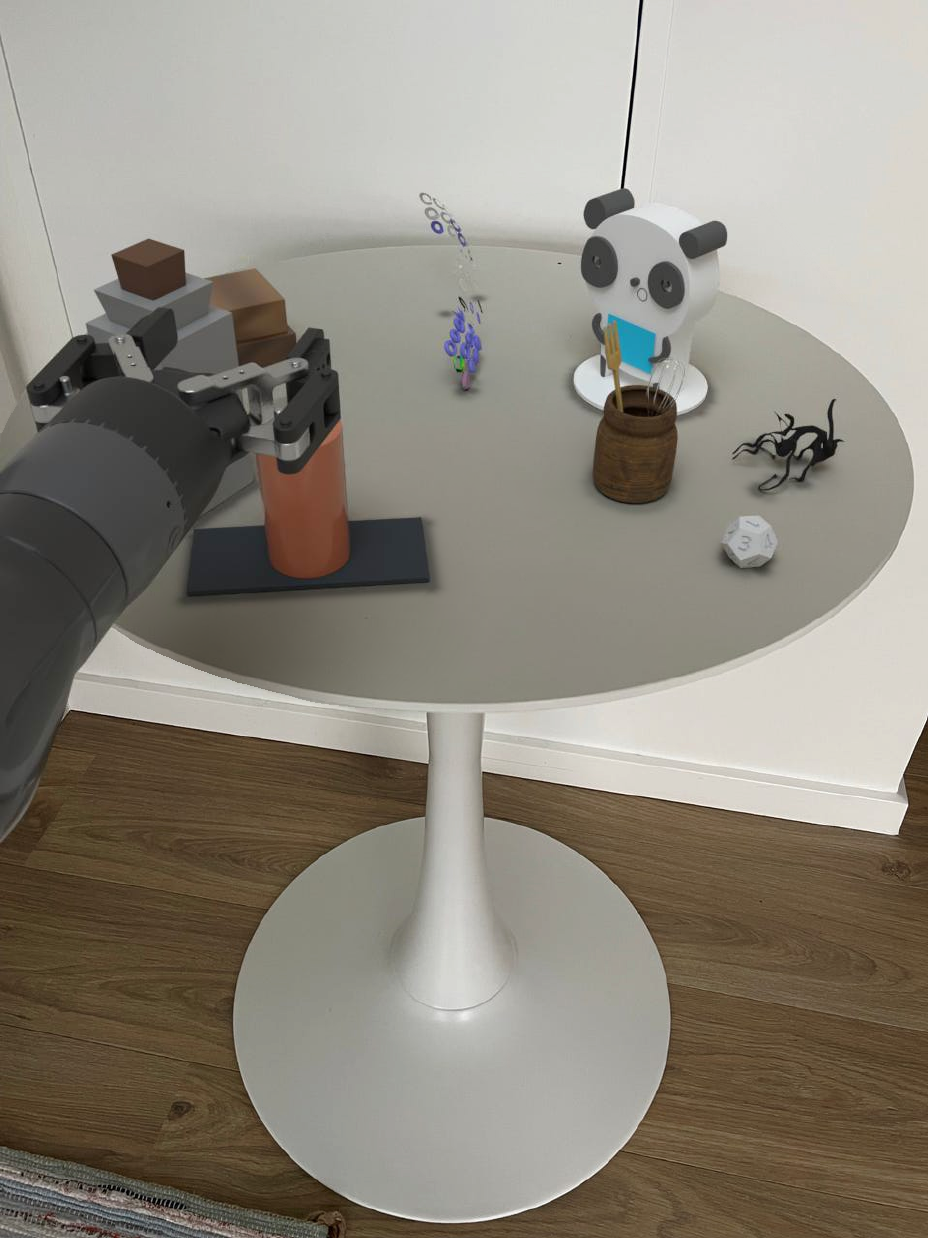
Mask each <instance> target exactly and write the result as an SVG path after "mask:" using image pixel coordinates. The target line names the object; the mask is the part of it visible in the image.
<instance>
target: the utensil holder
mask: <svg viewBox="0 0 928 1238" xmlns="http://www.w3.org/2000/svg"><path fill="white" fill-rule="evenodd" d="M603 330H604V340H605V350H606V360H607V367H608V369H610V370H612V371H613V376H614V384H615V390H613V391H612V392H611V393H610V394H609V395H608V396H607V399H606V402H605V405H604V410H602V411H603V416H602V418H601V419H600V421H599V423H598V425H597V431H596V435H595V441H594V442H595V444H594V454H593V461H592V462H593V463H592V477H593V479H592V480H593V483H594V485H595V487H596V488H597V490H598V491H599V492H600V493H601V494H603V495H604V496H606V497H608V498H610V499H611V500H614V501H617V502H622V503H628V504H644V503H650V502H653V501H655V500H657V499H659V498H661V497H662V496H664V495H665V494H666V492H667V491H668V490H669V488H670V486H671V482H672V479H673V473H674V468H675V461H676V456H677V455H676V454H677V450H678V449H677V447H678V439H679V438H678V437H679V436H678V435H679V434H678V428H677V425H676V421H677V418H678V416H677V405H676V399H677V398H676V399H675V400H674V398H675V397H676V396H675V397H674V398H673V397H672V396H671V395H670V392H671V390H670V392H669V394H668V391H669V389H670V387H669V389H668V391H667V392H665V391H663V390H661V389H658V387H659V385H657V388H655V387H651V386H649V385H648V386H645V385H629V386H623V387H620V381H619V373H618V368H619V366H620V364H621V361H622V358H621V351H620V344H619V337H618V330H617V324H616V321H615V320H614V321H613V331H612V324H611V323H609V324H608V331H609V338H608V331H607V327H604V328H603ZM613 332H614V337H613ZM609 341H610V344H609ZM614 342H615V344H614ZM669 358H672V357H669ZM669 358H663V359H667V360H668V359H669ZM672 359H673V358H672ZM672 359H670V360H668V361H672V362H674V366H675V362H676V359H675V360H672ZM661 360H662V359H661ZM661 360H659V361H661ZM667 360H666V361H665V364H666V362H667ZM677 360H678V359H677ZM659 361H658V362H659ZM658 362H657V363H658ZM672 362H671V363H672ZM677 362H679V361H677ZM677 362H676V363H677ZM657 363H656V365H657ZM663 363H664V362H663ZM671 363H670V364H671ZM680 363H681V362H680ZM661 364H662V363H661ZM661 364H660V365H661ZM665 364H664V366H665ZM670 364H669V365H670ZM681 364H682V363H681ZM656 365H655V367H656ZM669 365H668V366H669ZM678 365H679V364H678V363H677V367H678ZM682 365H683V364H682ZM658 366H659V365H658ZM658 366H657V367H658ZM679 366H680V365H679ZM655 367H654V369H655ZM657 367H656V368H657ZM683 367H684V365H683ZM667 368H668V367H667ZM667 368H666V369H667ZM680 368H681V366H680ZM663 369H664V367H663ZM655 370H656V369H655ZM655 370H653V372H652V375H651V378H650V381H651V379H652V376H653V374H654V371H655ZM676 370H677V368H676ZM681 370H682V368H681ZM665 371H666V370H665ZM665 371H664V373H665ZM662 372H663V370H662ZM664 373H663V375H664ZM675 373H676V371H675ZM675 373H674V376H673V378H675ZM661 374H662V373H661ZM682 374H683V371H682ZM684 374H685V368H684ZM663 375H662V377H663ZM660 377H661V375H660ZM662 377H661V379H662ZM683 378H684V376H683ZM659 380H660V378H659ZM650 381H649V384H650ZM672 381H673V382H674V380H673V379H672ZM660 382H661V380H660ZM660 382H658V384H660ZM682 383H683V379H682V382H681V385H680V388H679V389H681V386H682ZM671 384H672V386H673V383H672V382H671ZM670 386H671V385H670ZM671 389H672V387H671ZM678 392H680V390H678ZM678 392H677V393H678ZM676 395H677V394H676ZM678 395H679V393H678ZM678 395H677V397H678Z"/></svg>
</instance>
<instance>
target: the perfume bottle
mask: <svg viewBox="0 0 928 1238" xmlns="http://www.w3.org/2000/svg"><path fill="white" fill-rule="evenodd" d="M185 254H186V253H185V249H183V248H179V247H176V246H174V245H170V244H167V243H164V242H162V241H158V240H155V239H151V238H147V239H144V240H141V241H139V242H137V243H135V244H133V245H130V246H128V247H126V248H124V249H121V250H118V251H116V252H114V253H112V254H110V256H111V259H112V262H113V265H114V268H115V272H116V276H117V278H116V279H114V280H112V281H110V282H107V283H105V284H102V285H101V286H99V287H96V288H93V292H94V294H95V296H96V297H97V299H98V301H99V303H100V305H101V307H102V308H103V310H104V312H105V313H104V314H102V315H100V316H97V317H95V318H93V319H91V320H88V321H87V322H85V327H86V331H87V335H90V336H93V337H94V340H95V343H108V339H109V338H110V337H111V336H113V335H116V334H126V333H127V332H128V331H129V330H130V329H131V328H132V327H133V326H134V325H135V324H137V322H138V321H139V320H140V319H141V318H143V317H145V316H147V315H150V314H151V313H152V312H154V311H155V310H156V309H157V308H158V307H162V308H169V309H172V310H173V311H174V316H175V322H176V328H177V334H178V341H177V345H176V347H175V348H174V349H173V350H172V351H171V352H170V353H169V354H168V355H167V356H166V357H165V358H164V359H163V361H162V362H161V363H160V364H159V365H158V366H157V367H156V368H155V369H154V370H162V368H163V367H170V368H177V369H181V370H184V371H187V372H191V373H212V374H218V373H221V372H224V371H227V370H230V369H233V368H236V367H239V364H238V356H237V348H236V341H235V333H234V325H233V318H232V313H231V312H229V311H226V310H223V309H220V308H217V307H214V306H211V305H209V304H210V298H211V291H212V285H213V282H212V281H209V280H206V279H203V277H200V276H198V275H195V274H191V273H188V272H187V271H186V259H185V258H186V256H185ZM236 392H237V394H238V396H239V398H240V400H241V402H242V404H243V406H244V407H245V403H244V395H243V389H242V390H239V391H236ZM253 472H254V471H253V465H252V458H251V452H249V453H248V454H247V455H246V456H244V457H243V458H241V459H239V460H237V461H235V462H233V463H232V464H230V465H229V466H228V467H227V468H226V470H225V472H224V474H223V477H222V479H221V482H220V484H219V487H218V489H217V491H216V493H215V495H214V497H213V498H212V500H211V501H210V503H209V504H208V505H207V507H206V508H205V510H204V511H203V512H202V514H201V515H200V516H199V518H201V517H202V516H203V515H205V514H207V513H208V512H210V511H211V510H213V509H214V508H216V507H217V506H219V505H221V504H222V503H223V502H225V501H226V500H228V499H230V498H231V497H232V496H234V495H235V494H237V493H238V492H240V491H241V490H243V489H244V488H246V487H248V486H249V485H250V484H252V483H253V482H254V481H255V479H254V473H253Z"/></svg>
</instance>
